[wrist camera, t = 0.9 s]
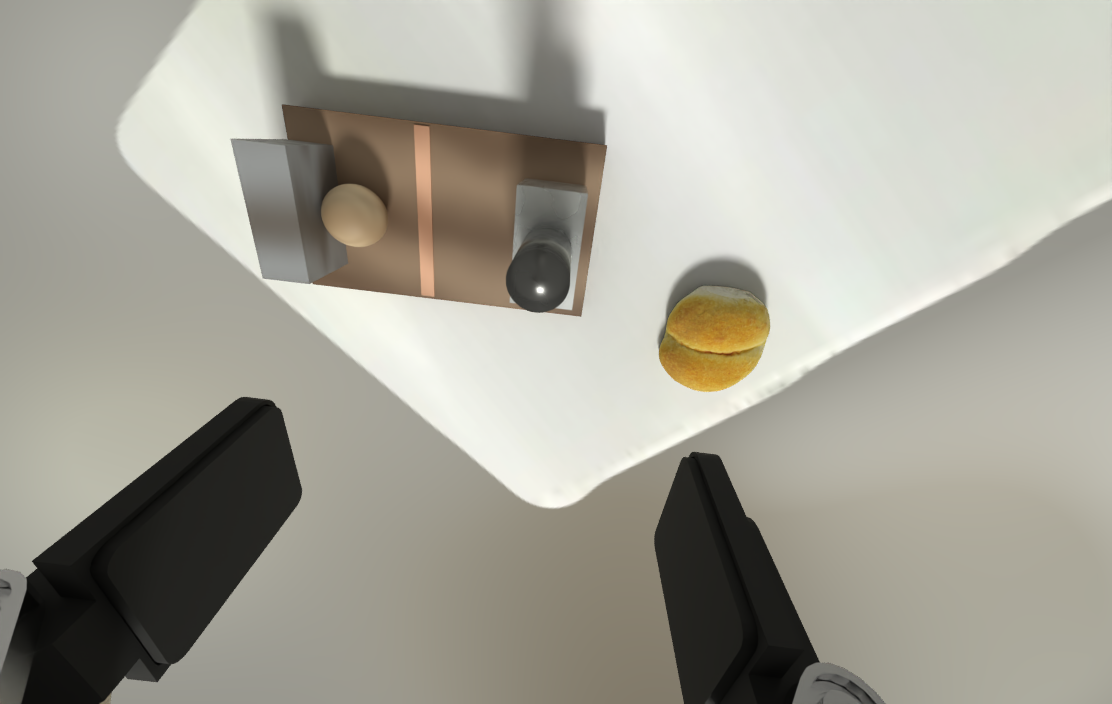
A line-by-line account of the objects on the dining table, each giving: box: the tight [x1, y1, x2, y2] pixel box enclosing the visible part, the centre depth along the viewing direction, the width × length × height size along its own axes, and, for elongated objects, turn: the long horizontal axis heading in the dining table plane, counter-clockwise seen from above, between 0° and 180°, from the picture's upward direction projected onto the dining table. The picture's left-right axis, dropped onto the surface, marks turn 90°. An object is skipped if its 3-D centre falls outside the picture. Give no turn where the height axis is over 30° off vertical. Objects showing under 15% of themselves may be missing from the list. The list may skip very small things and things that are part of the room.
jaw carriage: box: [506, 178, 588, 313], centre depth 24 cm, size 7×4×11 cm, turn 174°
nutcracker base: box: [231, 105, 607, 316], centre depth 27 cm, size 12×21×7 cm, turn 84°
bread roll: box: [659, 286, 770, 392], centre depth 33 cm, size 8×9×4 cm
